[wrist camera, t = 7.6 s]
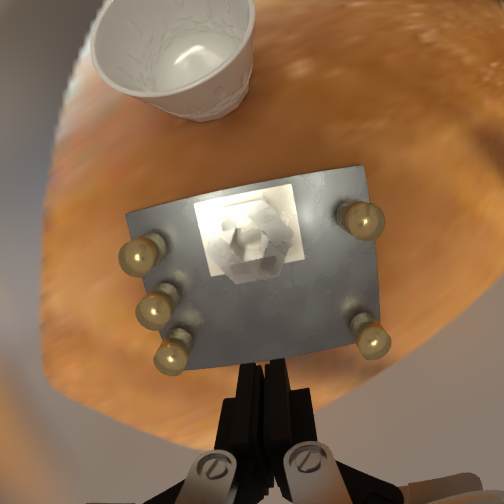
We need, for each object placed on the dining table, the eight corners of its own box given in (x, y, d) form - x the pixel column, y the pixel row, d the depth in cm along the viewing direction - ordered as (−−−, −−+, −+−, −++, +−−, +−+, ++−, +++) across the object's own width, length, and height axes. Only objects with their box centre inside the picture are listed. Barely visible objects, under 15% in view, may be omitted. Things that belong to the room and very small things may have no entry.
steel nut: (203, 210, 22) (195, 214, 19) (283, 192, 21) (286, 194, 19) (219, 276, 23) (214, 288, 20) (296, 261, 22) (301, 271, 20)
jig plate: (128, 212, 22) (104, 220, 18) (361, 165, 21) (380, 163, 17) (175, 367, 25) (164, 394, 22) (378, 333, 24) (394, 357, 20)
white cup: (250, 29, 19) (242, -50, 9) (266, 120, 20) (268, 76, 11) (151, 50, 19) (93, -9, 10) (160, 140, 21) (92, 118, 11)
